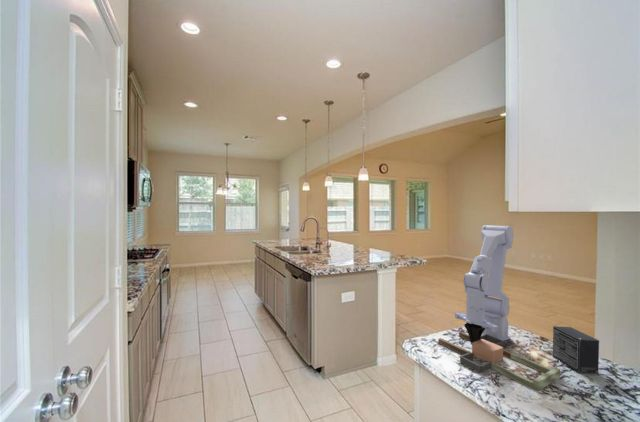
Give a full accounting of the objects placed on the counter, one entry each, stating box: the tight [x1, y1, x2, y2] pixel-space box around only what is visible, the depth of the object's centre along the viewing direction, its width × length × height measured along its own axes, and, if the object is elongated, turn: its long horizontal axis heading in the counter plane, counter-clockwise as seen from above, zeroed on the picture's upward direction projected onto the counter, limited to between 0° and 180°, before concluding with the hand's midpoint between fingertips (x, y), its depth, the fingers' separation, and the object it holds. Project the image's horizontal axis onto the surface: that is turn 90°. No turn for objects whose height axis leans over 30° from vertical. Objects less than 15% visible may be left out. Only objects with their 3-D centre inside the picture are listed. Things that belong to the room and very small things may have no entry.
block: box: [471, 339, 504, 364], centre depth 97 cm, size 6×7×4 cm
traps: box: [459, 334, 505, 374], centre depth 98 cm, size 25×13×2 cm, turn 119°
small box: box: [552, 325, 600, 374], centre depth 92 cm, size 11×6×10 cm, turn 179°
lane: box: [438, 331, 561, 392], centre depth 95 cm, size 13×32×2 cm, turn 29°
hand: (474, 344), depth 101 cm, fingers closed
